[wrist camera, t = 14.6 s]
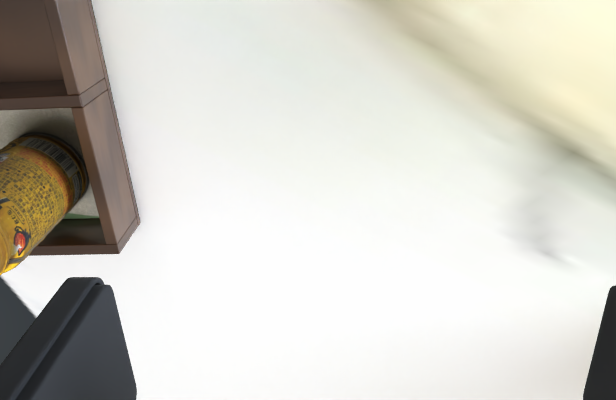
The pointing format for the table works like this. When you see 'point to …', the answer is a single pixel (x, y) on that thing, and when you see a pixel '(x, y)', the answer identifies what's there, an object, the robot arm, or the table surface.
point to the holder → (85, 108)
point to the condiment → (38, 179)
